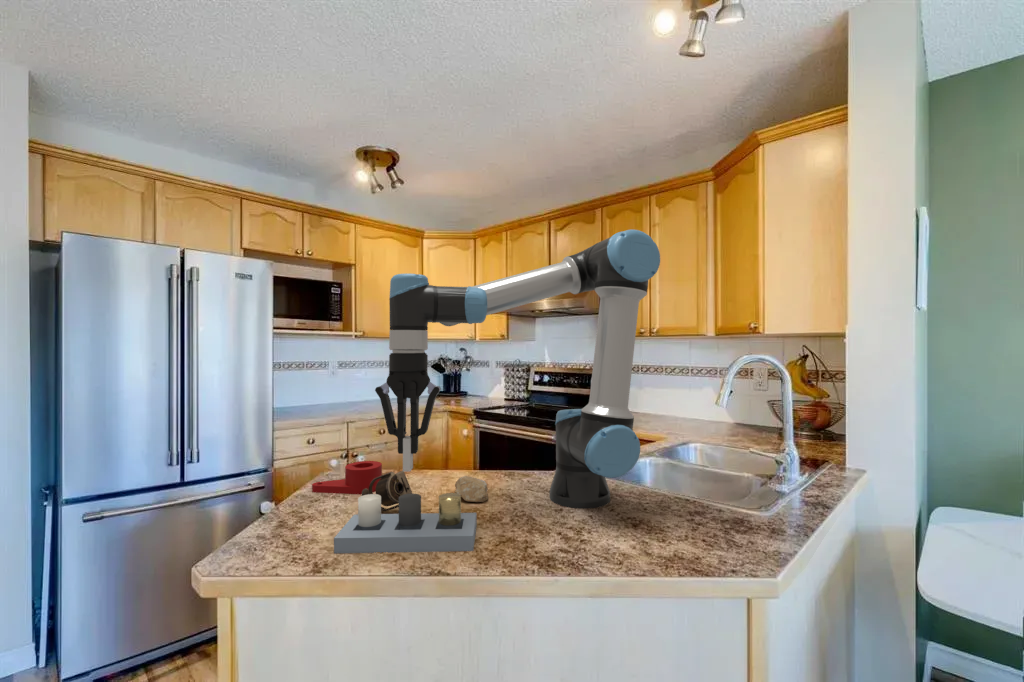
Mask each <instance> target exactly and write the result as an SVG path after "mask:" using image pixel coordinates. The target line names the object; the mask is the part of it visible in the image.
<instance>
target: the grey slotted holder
mask: <svg viewBox="0 0 1024 682" xmlns="http://www.w3.org/2000/svg"><path fill="white" fill-rule="evenodd" d="M477 519H478V518H477V512H461V522H460V523H459V524H456V525H451V526H445V525H441V524H440V523H439V512H438V513H436V512H430V513H429V512H428V513H427V512H426V513H425V512H423V513H422V512H421V523H419V524H417V525H414V526H401V525H399V513H381V523H380V524H378V525H376V526H372V527H361V526H359V525H358V513H357V514H353V515H352V516H351V517H350V519H349V520H348V521H346V524H344V526H343V527H342V528H341V529H340V530H339V532H337V534H336V535H335V536H334V537H333V554H375V553H376V552H380V554H381V553H382V552H383V553H384V552H385V553H386V552H388V553H437V552H439V553H440V552H442V553H443V552H445V553H446V552H447V553H449V552H474V548H475V541H476V533H477V523H478V521H477ZM374 552H375V553H374Z"/></svg>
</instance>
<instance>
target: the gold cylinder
mask: <svg viewBox="0 0 1024 682" xmlns="http://www.w3.org/2000/svg"><path fill="white" fill-rule="evenodd" d="M438 513H439V523H440V524H441V525H445V526H451V525H456V524H459V523H460V522H461V513H462V497H461V495H460V494H457V493H455V492H447V493H441V494H440V495H439V496H438Z"/></svg>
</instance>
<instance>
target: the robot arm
mask: <svg viewBox="0 0 1024 682" xmlns="http://www.w3.org/2000/svg"><path fill="white" fill-rule="evenodd" d="M652 238H653V237H652V236H650V235H649V234H647V233H645V232H644V231H641V230H639V229H627V230H624V231H623V230H622V231H619V232H616V233H615V234H613V235H612V236H610V237H608V238H605V239H603V240H600V241H599V242H597V243H595V244H593V245H591V246H589V247H587V248H586V249H584V250H581V251H579V252H576V253H575V254H571V255H567V256H565V257H563V259H562V261H561V262H558V263H554V264H550V265H545V266H543V267H539V268H535V269H532V270H528V271H524V272H521V273H517V274H514V275H510V276H509V275H508V276H506V277H503V278H499V279H495V280H492V281H487V282H484V283H480V284H476V285H473V286H470V285H469V286H442V285H441V286H440V285H439V286H437V285H432V284H430V283H429V279H428V276H426V275H424V274H420V273H419V274H417V273H398V274H394V275H393V276H392V277H391V278H390V283H389V284H390V285H389V299H388V301H389V338H388V339H389V343H388V345H389V346H388V348H389V350H390V351H391V352H390V354H389V357H388V360H389V361H388V366H389V367H388V376H387V377H386V382H384V383H383V384H382V385H379V386H377V387H376V388H375V389H374V391H375V393H376V394H377V396H378V397H379V399H380V403H381V407H382V411H383V415H384V421H385V425H386V429H387V433H388V435H391V436H395V437H397V452H398V454H402V471H403V472H404V473H407V472H412V470H413V469H414V454H417V453H418V452H419V437H420V436H422V435H425V434H426V433H427V432H428V430H429V426H430V421H431V417H432V413H433V409H434V405H435V402H436V398H437V396H438V395H439V393H440V392H441V389H442V388H441V386H440V385H435V384H434V383H433V382H431V378H430V376H429V374H428V372H429V371H428V370H429V369H428V365H429V364H428V357H429V356H428V354H427V353H426V352H425V351H427V350H428V346H429V344H428V342H429V341H428V337H429V336H428V333H429V332H428V329H429V327H428V325H429V323H433V324H434V323H435V324H436V323H439V324H441V325H443V326H444V327H453V326H457V325H458V324H469V325H472V324H482V323H484V322H485V321H486V319H487V316H490V315H493V314H497V313H499V312H504V311H506V310H507V311H508V310H511V309H513V308H517V307H521V306H524V305H528V304H531V303H535V302H538V301H542V300H545V299H549V298H553V297H556V296H559V295H562V294H563V295H564V294H566V293H571V294H573V295H578V294H581V293H585V292H586V293H587V292H591V291H594V292H595V293H596V294H597V296H598V297H599V299H600V300H599V308H598V316H597V317H598V319H597V326H596V336H595V346H594V352H593V353H594V356H593V363H592V364H593V365H592V372H591V373H592V374H591V381H590V393H589V399H588V403H587V404H586V405H585V406H584V407H582V408H574V409H573V408H571V409H570V408H569V409H560V410H558V411H557V413H556V414H555V415H556V416H555V423H554V425H555V460H556V461H555V463H556V467H555V472H554V475H553V479H552V482H551V485H550V487H549V488H550V489H549V500H550V501H551V503H554V504H556V505H558V506H561V507H564V508H571V509H579V510H580V509H587V510H588V509H596V508H601V507H604V506H606V505H608V504H610V502H611V492H610V488H609V485H608V482H607V479H608V478H609V479H614V478H615V479H616V478H619V477H623V476H625V475H626V474H628V472H630V471H631V470H632V469H634V467H635V466H636V465H637V463H638V461H639V458H640V454H641V443H640V439H639V437H638V436H637V433H636V432H635V431H634V421H635V415H633V413H632V412H631V411H630V409H629V400H630V392H631V391H630V390H631V382H632V381H631V380H632V370H633V362H634V352H635V343H636V342H635V341H636V334H637V325H638V324H637V323H638V314H639V304H640V301H641V300H643V299H644V298H645V297H647V294H648V287H649V280H650V279H652V278H653V277H654V276H655V275H656V273H658V270H659V268H660V265H661V254H660V250H659V247H658V245H657V244H656V242H655V241H654V240H653V239H652ZM426 389H427V395H428V397H427V400H426V403H425V409H424V412H423V415H422V416H423V417H422V420H421V424H420V417H419V416H420V413H419V412H420V410H419V409H420V407H419V406H420V404H419V403H420V397H421V396H422V395H423V393H424V392H425V390H426ZM390 390H391V391H392V393H393V394H394V395H395V397H396V404H397V416H396V417H397V419H395V415H394V410H393V407H392V402H391V398H390V395H389V393H390ZM408 399H409V403H410V404H409V405H410V431H409V432H410V433H409V435H407V424H406V423H407V400H408ZM396 421H397V424H396ZM419 424H420V426H419ZM606 478H607V479H606Z"/></svg>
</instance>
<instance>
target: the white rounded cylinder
mask: <svg viewBox="0 0 1024 682" xmlns="http://www.w3.org/2000/svg"><path fill="white" fill-rule="evenodd" d="M357 504H358V505H357V510H358V511H357V514H358V525H359V526H361V527H372V526H376V525H378V524H380V523H381V514H382V511H381V507H382V504H381V496H380V495H378V494H376V493H373V494H368V495H363V496H362V495H361V496H359V497H358V498H357Z"/></svg>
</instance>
